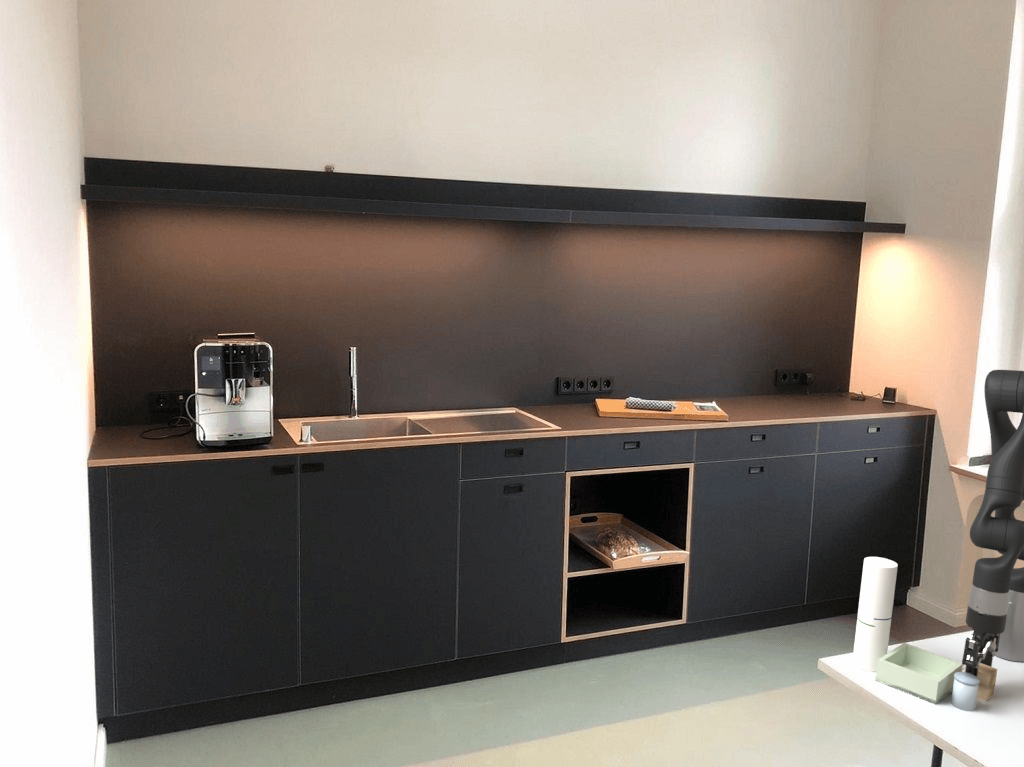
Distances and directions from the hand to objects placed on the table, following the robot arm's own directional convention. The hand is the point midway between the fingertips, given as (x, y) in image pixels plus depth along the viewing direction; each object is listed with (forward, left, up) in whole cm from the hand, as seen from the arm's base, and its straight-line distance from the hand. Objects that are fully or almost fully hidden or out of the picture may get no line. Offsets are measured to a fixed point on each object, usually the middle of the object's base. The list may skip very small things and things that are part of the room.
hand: (977, 677), depth 187 cm
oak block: (0, 0, -4) cm, 4 cm away
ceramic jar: (+8, 0, -4) cm, 9 cm away
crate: (+6, -10, -4) cm, 12 cm away
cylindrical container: (+6, -21, -4) cm, 22 cm away
